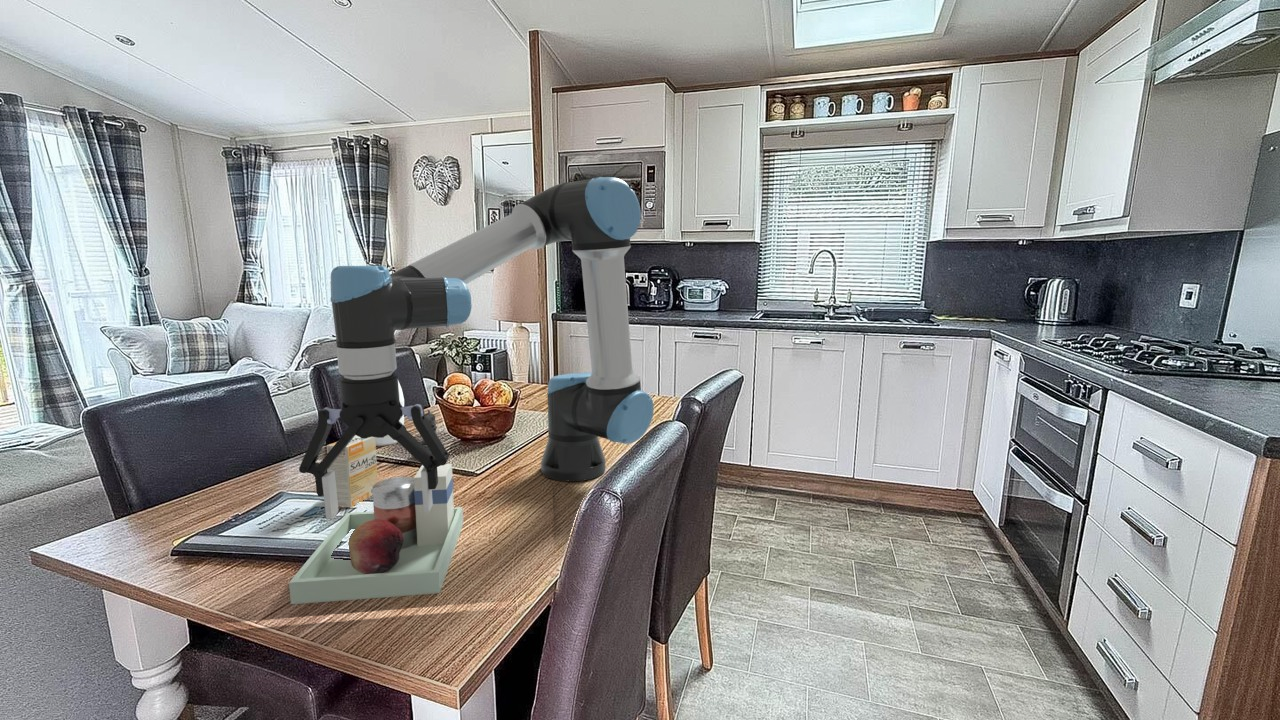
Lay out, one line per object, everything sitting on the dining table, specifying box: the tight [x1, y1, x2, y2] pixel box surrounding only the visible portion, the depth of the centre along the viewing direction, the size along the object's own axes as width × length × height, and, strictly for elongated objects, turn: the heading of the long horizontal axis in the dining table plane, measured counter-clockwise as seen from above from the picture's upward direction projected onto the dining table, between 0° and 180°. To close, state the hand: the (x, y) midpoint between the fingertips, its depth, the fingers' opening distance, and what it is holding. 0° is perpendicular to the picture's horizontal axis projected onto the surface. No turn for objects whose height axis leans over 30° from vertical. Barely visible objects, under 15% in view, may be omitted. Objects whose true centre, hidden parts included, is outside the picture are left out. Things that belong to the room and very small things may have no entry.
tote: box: [288, 506, 464, 605], centre depth 88 cm, size 20×22×4 cm
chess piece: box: [419, 409, 444, 455], centre depth 137 cm, size 6×6×12 cm
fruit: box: [348, 519, 404, 574], centre depth 83 cm, size 8×8×8 cm
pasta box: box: [413, 463, 455, 546], centre depth 94 cm, size 5×6×12 cm
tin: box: [372, 476, 417, 549], centre depth 93 cm, size 7×7×10 cm
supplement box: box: [326, 435, 378, 508], centre depth 109 cm, size 8×5×13 cm, turn 168°
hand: (381, 512), depth 83 cm, fingers open, 13 cm apart
